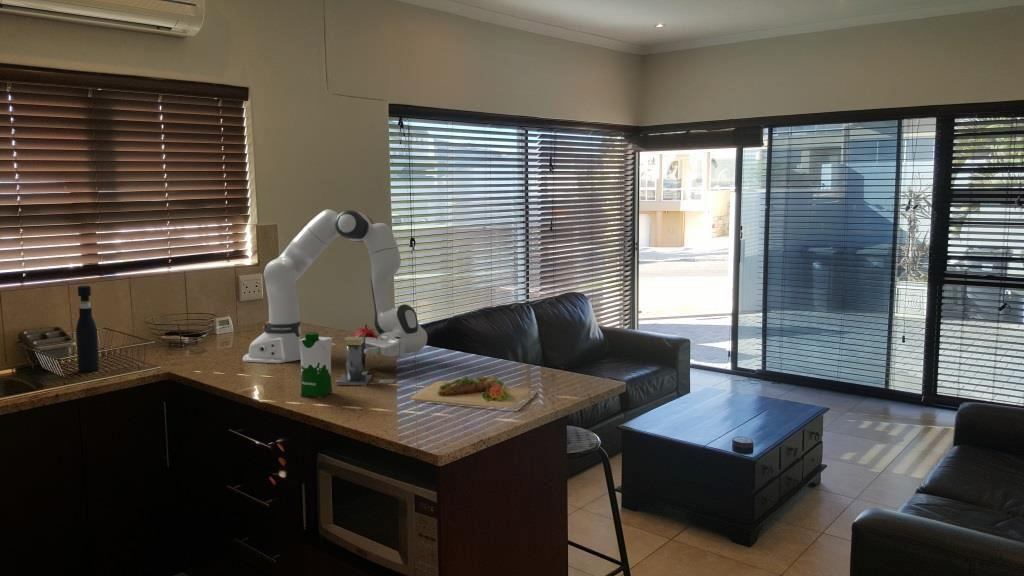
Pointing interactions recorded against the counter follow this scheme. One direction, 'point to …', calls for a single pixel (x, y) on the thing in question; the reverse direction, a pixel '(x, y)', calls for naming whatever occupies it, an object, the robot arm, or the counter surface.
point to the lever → (357, 341)
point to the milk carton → (315, 365)
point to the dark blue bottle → (86, 334)
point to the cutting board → (472, 393)
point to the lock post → (356, 368)
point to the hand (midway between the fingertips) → (357, 349)
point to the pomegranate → (366, 332)
